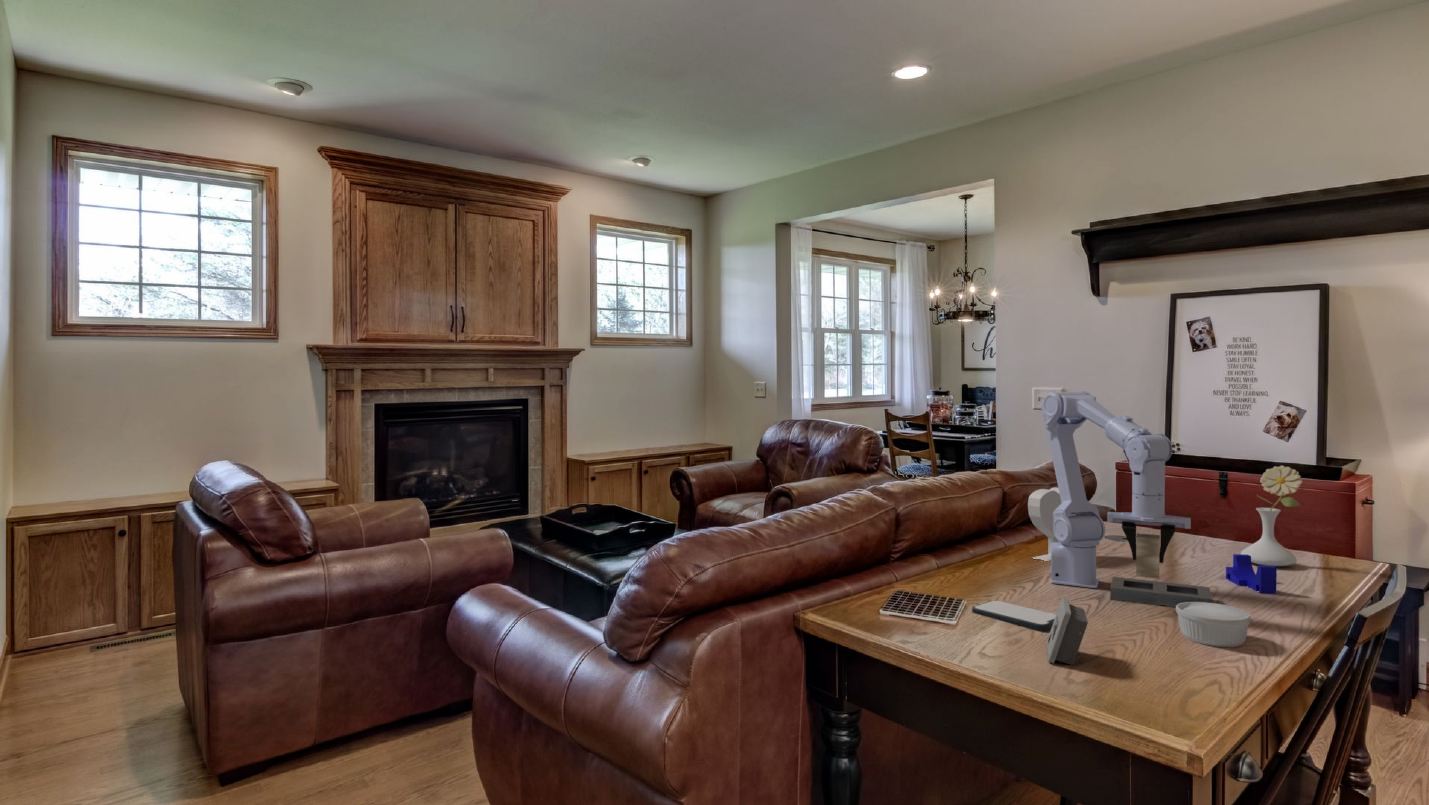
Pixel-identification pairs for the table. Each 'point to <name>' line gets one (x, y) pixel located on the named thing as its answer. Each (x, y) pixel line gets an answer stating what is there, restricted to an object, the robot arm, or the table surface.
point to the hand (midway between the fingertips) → (1147, 560)
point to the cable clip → (1252, 575)
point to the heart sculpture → (1044, 514)
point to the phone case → (1016, 615)
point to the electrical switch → (1066, 633)
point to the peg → (1147, 555)
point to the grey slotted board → (1157, 592)
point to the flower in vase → (1267, 546)
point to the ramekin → (1213, 623)
